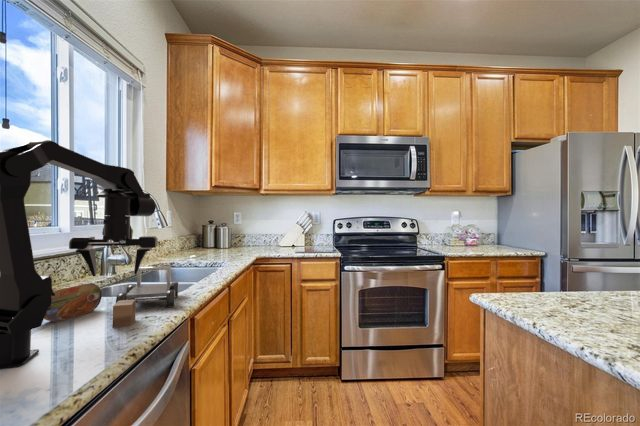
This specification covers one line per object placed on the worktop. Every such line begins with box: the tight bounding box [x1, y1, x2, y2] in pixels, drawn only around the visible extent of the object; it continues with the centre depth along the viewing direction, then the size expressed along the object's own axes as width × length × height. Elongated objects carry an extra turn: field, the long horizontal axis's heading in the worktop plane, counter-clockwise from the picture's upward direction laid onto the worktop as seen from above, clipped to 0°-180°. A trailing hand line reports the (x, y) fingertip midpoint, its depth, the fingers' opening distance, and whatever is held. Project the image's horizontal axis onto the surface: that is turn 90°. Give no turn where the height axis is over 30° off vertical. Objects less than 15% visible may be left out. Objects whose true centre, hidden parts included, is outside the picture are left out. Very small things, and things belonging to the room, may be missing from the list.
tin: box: [43, 282, 102, 323], centre depth 84 cm, size 15×3×8 cm, turn 163°
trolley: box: [115, 265, 179, 308], centre depth 98 cm, size 17×15×11 cm
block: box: [112, 300, 137, 329], centre depth 79 cm, size 5×4×6 cm
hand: (115, 275), depth 80 cm, fingers open, 9 cm apart
